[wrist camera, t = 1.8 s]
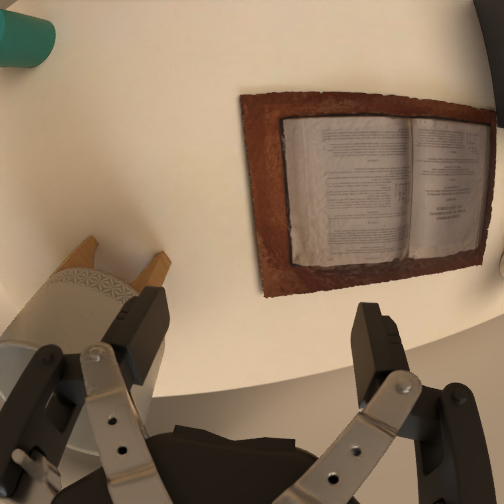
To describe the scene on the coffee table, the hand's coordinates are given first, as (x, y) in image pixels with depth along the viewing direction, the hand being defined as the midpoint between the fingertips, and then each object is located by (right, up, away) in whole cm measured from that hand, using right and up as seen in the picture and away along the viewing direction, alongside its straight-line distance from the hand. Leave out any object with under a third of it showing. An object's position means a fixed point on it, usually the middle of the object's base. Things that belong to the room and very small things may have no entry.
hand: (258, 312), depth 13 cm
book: (+14, +9, +17) cm, 23 cm away
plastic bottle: (-22, +24, +9) cm, 34 cm away
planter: (-14, -1, +21) cm, 25 cm away
